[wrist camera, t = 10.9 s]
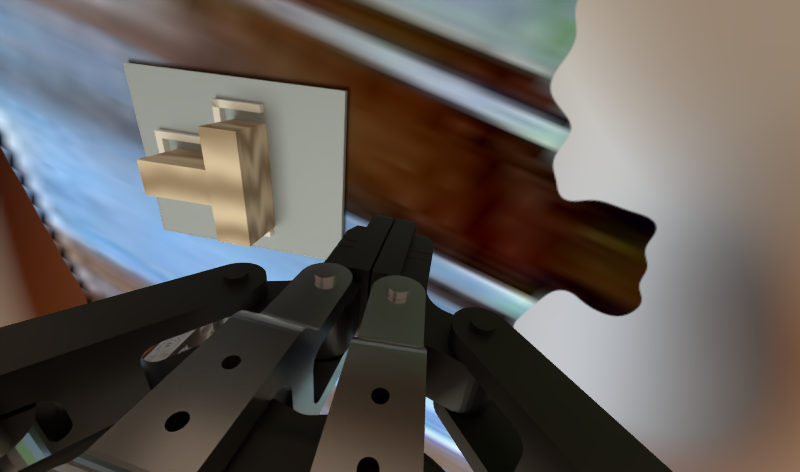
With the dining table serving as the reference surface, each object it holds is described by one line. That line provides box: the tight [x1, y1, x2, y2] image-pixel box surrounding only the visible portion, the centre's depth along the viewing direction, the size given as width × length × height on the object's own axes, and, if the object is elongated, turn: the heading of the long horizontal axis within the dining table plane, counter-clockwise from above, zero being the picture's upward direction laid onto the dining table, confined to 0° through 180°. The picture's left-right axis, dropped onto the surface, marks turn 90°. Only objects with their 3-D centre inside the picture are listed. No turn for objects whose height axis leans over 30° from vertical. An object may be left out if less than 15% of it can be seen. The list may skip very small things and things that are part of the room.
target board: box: [123, 62, 348, 260], centre depth 50 cm, size 26×32×2 cm
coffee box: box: [142, 323, 214, 362], centre depth 60 cm, size 9×6×16 cm
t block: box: [137, 119, 275, 247], centre depth 47 cm, size 16×15×7 cm
